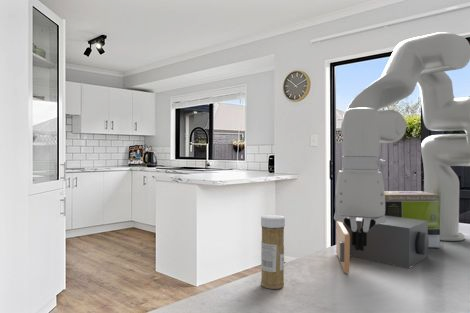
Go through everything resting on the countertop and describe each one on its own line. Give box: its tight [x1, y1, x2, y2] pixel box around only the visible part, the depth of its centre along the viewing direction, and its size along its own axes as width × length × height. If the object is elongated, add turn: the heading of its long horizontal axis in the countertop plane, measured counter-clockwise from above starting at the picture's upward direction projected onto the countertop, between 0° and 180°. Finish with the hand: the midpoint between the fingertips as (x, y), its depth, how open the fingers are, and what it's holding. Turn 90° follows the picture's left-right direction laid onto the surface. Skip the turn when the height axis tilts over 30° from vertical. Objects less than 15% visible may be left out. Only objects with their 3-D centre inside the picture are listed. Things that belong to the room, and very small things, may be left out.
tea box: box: [384, 190, 441, 248], centre depth 104 cm, size 15×10×15 cm
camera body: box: [343, 215, 429, 269], centre depth 91 cm, size 13×17×10 cm
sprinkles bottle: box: [260, 214, 286, 290], centre depth 70 cm, size 5×5×14 cm
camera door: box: [335, 221, 351, 274], centre depth 84 cm, size 2×16×8 cm, turn 170°
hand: (358, 248), depth 79 cm, fingers closed
